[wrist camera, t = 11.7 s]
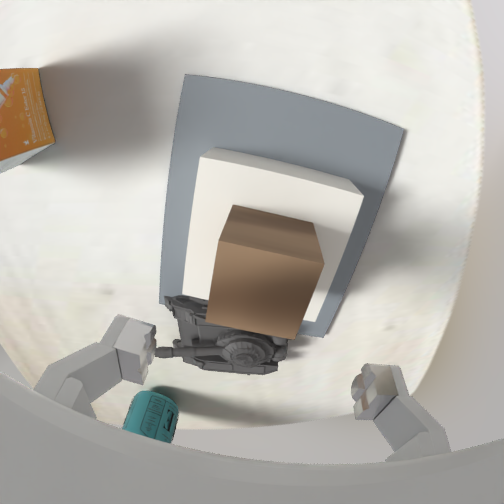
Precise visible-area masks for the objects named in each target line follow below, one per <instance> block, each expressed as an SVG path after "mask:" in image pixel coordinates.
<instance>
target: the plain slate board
mask: <svg viewBox="0 0 504 504" xmlns="http://www.w3.org/2000/svg"><path fill="white" fill-rule="evenodd" d="M403 131H404V129H403V128H400V127H398V126H395V125H393V124H390V123H388V122H385V121H383V120H380V119H377V118H374V117H372V116H369V115H366V114H363V113H360V112H357V111H354V110H351V109H348V108H345V107H342V106H339V105H336V104H332V103H329V102H326V101H322V100H319V99H315V98H311V97H308V96H304V95H300V94H296V93H292V92H288V91H284V90H279V89H275V88H270V87H265V86H261V85H255V84H250V83H245V82H239V81H233V80H227V79H220V78H213V77H206V76H197V75H188V74H185V77H184V82H183V88H182V93H181V98H180V104H179V109H178V115H177V121H176V127H175V133H174V140H173V147H172V154H171V161H170V169H169V177H168V185H167V194H166V204H165V214H164V226H163V238H162V252H161V269H160V292H159V304H163V305H165V300H164V296H170V297H174V296H178V295H184V294H182V291H183V280H184V271H185V261H186V252H187V244H188V236H189V228H190V220H191V213H192V205H193V198H194V191H195V185H196V178H197V172H198V166H199V159H200V156H202V155H203V154H204V153H206V152H207V151H209V150H210V149H211V148H213V147H215V148H221V149H226V150H231V151H236V152H241V153H246V154H251V155H255V156H260V157H264V158H269V159H273V160H277V161H282V162H286V163H290V164H294V165H298V166H302V167H306V168H310V169H313V170H317V171H321V172H324V173H328V174H332V175H335V176H339V177H342V178H346V179H349V180H350V181H351V182H352V183H353V184H354V185H355V186H356V188H357V189H358V190H359V191H360V192H361V193H362V194H363V195H364V198H363V201H362V204H361V207H360V209H359V212H358V215H357V218H356V221H355V224H354V226H353V229H352V232H351V235H350V237H349V240H348V243H347V245H346V248H345V250H344V253H343V256H342V258H341V261H340V263H339V266H338V268H337V271H336V273H335V276H334V278H333V281H332V283H331V286H330V288H329V291H328V293H327V295H326V298H325V300H324V302H323V305H322V307H321V309H320V312H319V314H318V316H317V318H316V321H315V322H312V321H307V320H303V321H302V323H301V325H300V328H299V330H298V333H297V334H303V335H309V336H315V337H321V338H324V336H325V333H326V331H327V329H328V327H329V325H330V323H331V321H332V319H333V317H334V315H335V313H336V311H337V308H338V306H339V304H340V302H341V300H342V298H343V295H344V293H345V291H346V289H347V286H348V284H349V282H350V279H351V277H352V275H353V273H354V270H355V268H356V265H357V263H358V261H359V258H360V256H361V253H362V251H363V248H364V246H365V243H366V241H367V238H368V236H369V233H370V231H371V228H372V225H373V223H374V220H375V217H376V215H377V212H378V209H379V206H380V204H381V201H382V198H383V195H384V192H385V189H386V186H387V183H388V180H389V177H390V174H391V171H392V168H393V165H394V162H395V158H396V155H397V152H398V149H399V145H400V142H401V138H402V135H403ZM184 296H188V295H184Z"/></svg>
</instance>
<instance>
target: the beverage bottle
mask: <svg viewBox="0 0 504 504" xmlns="http://www.w3.org/2000/svg"><path fill="white" fill-rule="evenodd" d="M131 403H132V404H130V406H131V407H130V406H129V409H128V410H129V411H128V414H127V417H126V419H125V422H124V426H123V428H122V429H124V430H126V431H129V432H132V433H136V434H139V435H142V436H145V437H148V438H152V439H155V440H159V441H163V442H166V443H170V444H171V440H173V439H172V436H173V437H174V433H175V430H176V426H177V425H176V424H177V420H178V418H179V416H178V413H179V412H178V406H177V405H176V403H175V402H174V401H172V400H171V399H170V398H168V397H166V396H164V395H162V394H160V393H157V392H153V391H141V392H139V393H137V394H136V395H135V397H134V398H132V401H131ZM177 417H178V418H177ZM174 428H175V429H174ZM173 432H174V433H173Z"/></svg>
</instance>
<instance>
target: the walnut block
mask: <svg viewBox="0 0 504 504" xmlns="http://www.w3.org/2000/svg"><path fill="white" fill-rule="evenodd" d="M324 264H325V263H324V260H323V256H322V252H321V249H320V245H319V241H318V238H317V234H316V231H315V227H314V224H313V223H312V222H308V221H304V220H299V219H295V218H291V217H287V216H282V215H278V214H274V213H269V212H265V211H260V210H256V209H252V208H247V207H242V206H238V205H232V208H231V210H230V213H229V215H228V218H227V220H226V223H225V225H224V228H223V230H222V233H221V235H220V238H219V240H218V246H217V251H216V257H215V263H214V269H213V275H212V281H211V287H210V294H209V300H208V306H207V313H206V319H205V322H208V323H213V324H217V325H222V326H226V327H231V328H236V329H241V330H245V331H250V332H255V333H260V334H266V335H271V336H276V337H282V338H287V339H293V340H295V337H296V335H297V333H298V330H299V328H300V325H301V323H302V321H303V318H304V316H305V313H306V311H307V308H308V306H309V303H310V301H311V298H312V296H313V293H314V291H315V288H316V286H317V283H318V280H319V278H320V275H321V272H322V270H323V267H324Z"/></svg>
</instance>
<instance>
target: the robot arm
mask: <svg viewBox="0 0 504 504" xmlns="http://www.w3.org/2000/svg"><path fill="white" fill-rule="evenodd" d="M155 334H156V326H155V325H153V324H149V323H146V322H143V321H139V320H136V319H133V318H129V317H126V316H123V315H120V314H118V315H117V316H116V317H115V318H114V320H113V321H112V323H111V325H110V326H109V328H108V330H107V331H106V333H105V335H104V336H103V338H102V340H101V341H100V343H97V342H95V343H93V344H91V345H89V346H87V347H85V348H83V349H81V350H79V351H77V352H75V353H73V354H71V355H69V356H67V357H65V358H63V359H61V360H59V361H57V362H55V363H53V364H51V365H49V366H48V367H47V368H46V370H45V372H44V373H43V375H42V376H41V378H40V380H39V381H38V383H37V385H36V386H35V388H34V390H32V389H30V388H28V387H27V386H25V385H23V384H21V383H20V382H18V381H16V380H14V379H13V378H11V377H9V376H8V375H6V374H5V373H3V372H1V371H0V504H504V439H499V440H496V441H492V442H489V443H486V444H482V445H478V446H475V447H471V448H467V449H462V450H458V451H454V452H451V449H450V446H449V442H448V438H447V435H446V432H445V429H444V428H443V427H442V426H441V425H440V424H439V423H438V422H437V421H436V420H435V419H434V418H433V417H432V416H431V415H430V414H429V413H428V412H427V411H426V410H425V409H424V408H423V407H422V406H421V405H420V404H419V403H418V402H417V401H416V400H415V398H413V396H409V393H408V390H407V387H406V384H405V381H404V378H403V374H402V371H401V368H400V367H399V366H395V365H382V364H369V363H367V364H365V365H364V366H363V367H362V369H361V371H362V373H361V374H359V375H357V376H356V377H355V379H354V380H353V383H352V387H351V395H352V398H353V399H354V400H355V401H356V403H355V404H354V406H353V407H354V413H355V419H356V420H373V422H374V423H375V425H376V426H377V428H378V429H379V430H380V432H381V433H382V435H383V436H384V437H385V439H386V440H387V442H388V443H389V445H390V446H391V447H392V449H393V450H394V453H393V454H392V455H390V456H389V457H388V458H387V459H386V460H385V461H386V462H379V463H365V464H299V463H284V462H272V461H262V460H253V459H246V458H238V457H232V456H226V455H220V454H215V453H209V452H205V451H200V450H195V449H190V448H186V447H182V446H178V445H174V444H170V443H166V442H163V441H159V440H155V439H152V438H148V437H145V436H142V435H139V434H136V433H132V432H129V431H126V430H124V429H121V428H118V427H115V426H112V425H109V424H107V423H104V422H102V421H99V420H96V418H97V417H96V415H95V413H94V411H93V408H92V406H91V404H90V403H91V402H93V401H94V400H96V399H97V398H98V397H100V396H101V395H103V394H104V393H105V392H107V391H108V390H110V389H111V388H112V387H114V386H115V385H116V384H118V383H119V382H121V381H122V379H123V380H127V381H130V382H133V383H137V384H141V385H143V384H144V381H145V379H146V376H147V374H148V365H149V364H151V363H152V361H153V359H154V355H155V351H156V339H155V338H154V336H155Z"/></svg>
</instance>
